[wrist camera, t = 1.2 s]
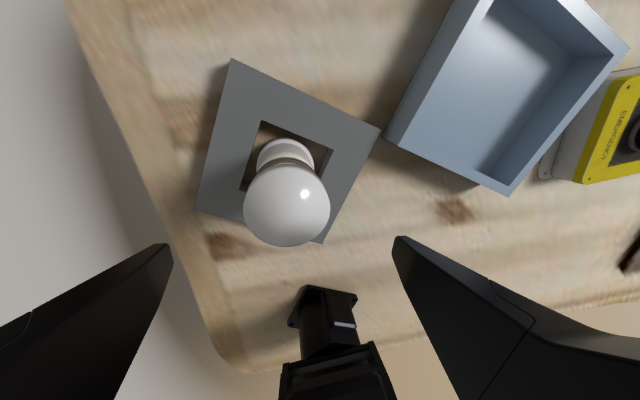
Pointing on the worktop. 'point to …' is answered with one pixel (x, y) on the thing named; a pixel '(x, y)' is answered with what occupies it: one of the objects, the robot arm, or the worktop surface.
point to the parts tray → (503, 85)
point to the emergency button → (600, 135)
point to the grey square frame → (285, 112)
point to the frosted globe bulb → (286, 195)
